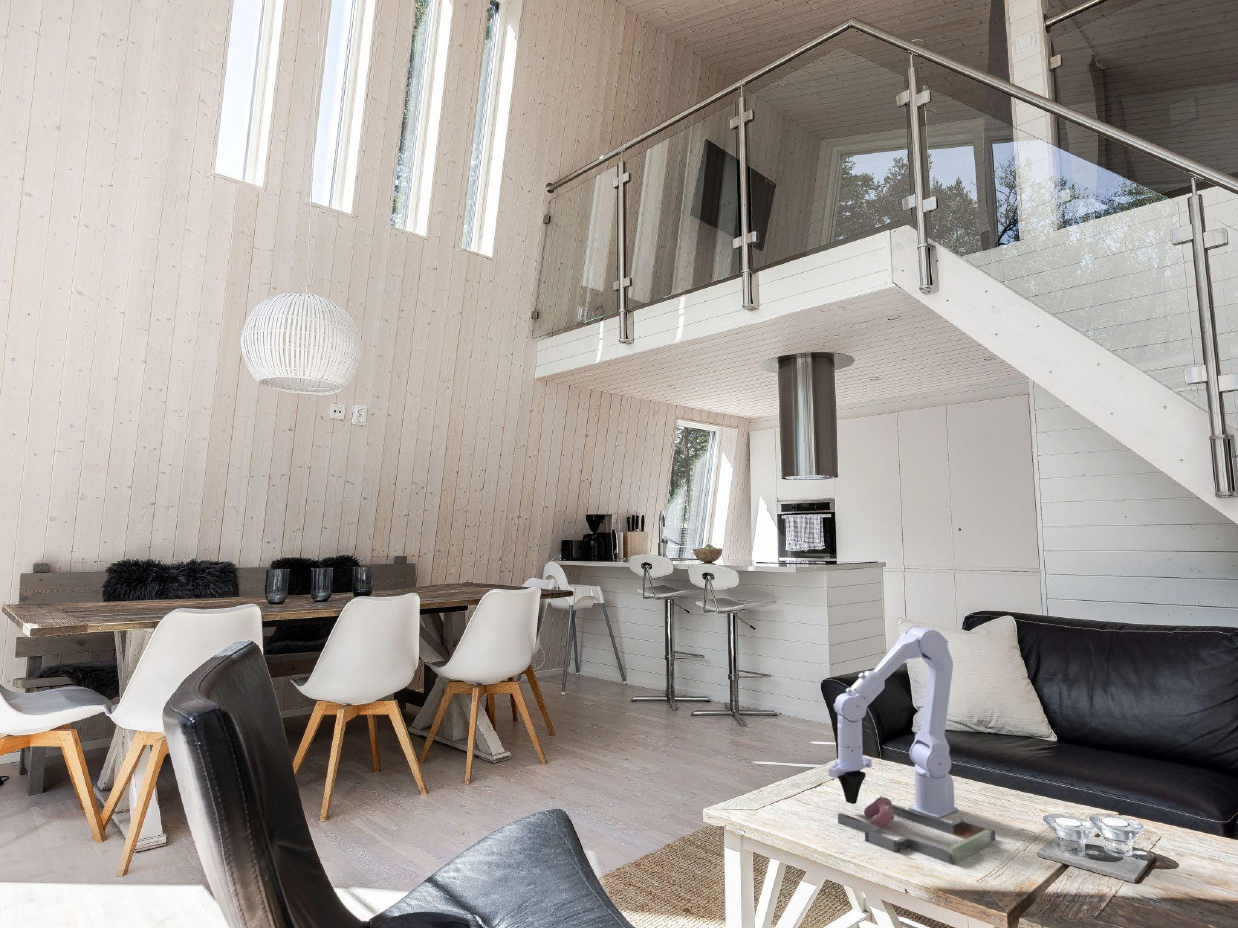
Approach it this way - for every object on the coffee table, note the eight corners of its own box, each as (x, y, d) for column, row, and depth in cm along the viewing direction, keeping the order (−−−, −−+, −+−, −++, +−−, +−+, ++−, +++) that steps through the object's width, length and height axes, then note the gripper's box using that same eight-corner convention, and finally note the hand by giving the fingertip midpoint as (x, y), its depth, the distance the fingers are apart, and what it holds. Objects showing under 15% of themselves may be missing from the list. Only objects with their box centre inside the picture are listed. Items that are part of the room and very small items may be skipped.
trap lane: (887, 804, 190) (886, 791, 190) (999, 840, 168) (999, 826, 168) (827, 826, 175) (827, 813, 176) (942, 869, 153) (942, 853, 154)
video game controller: (885, 839, 172) (899, 811, 172) (866, 828, 173) (880, 801, 173) (880, 823, 182) (893, 797, 182) (862, 812, 183) (875, 786, 183)
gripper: (853, 736, 193) (855, 791, 192) (818, 745, 184) (818, 803, 183) (878, 742, 188) (879, 799, 187) (842, 752, 179) (843, 812, 178)
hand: (851, 802), depth 185 cm, fingers closed
